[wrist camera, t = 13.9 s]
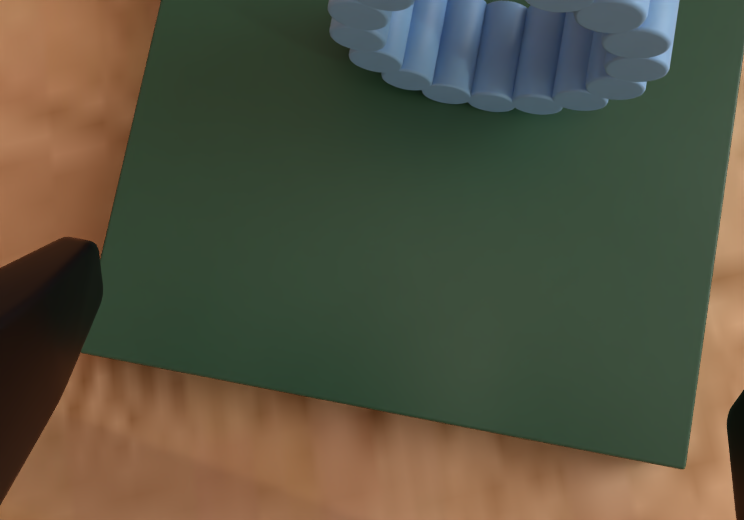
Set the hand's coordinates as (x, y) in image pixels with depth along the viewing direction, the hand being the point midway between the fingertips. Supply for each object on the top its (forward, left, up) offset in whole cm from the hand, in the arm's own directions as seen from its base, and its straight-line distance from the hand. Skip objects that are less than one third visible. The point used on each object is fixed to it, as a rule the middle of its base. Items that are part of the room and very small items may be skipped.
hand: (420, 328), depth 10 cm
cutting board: (+4, +3, -9) cm, 11 cm away
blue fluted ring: (+5, +4, -8) cm, 11 cm away
